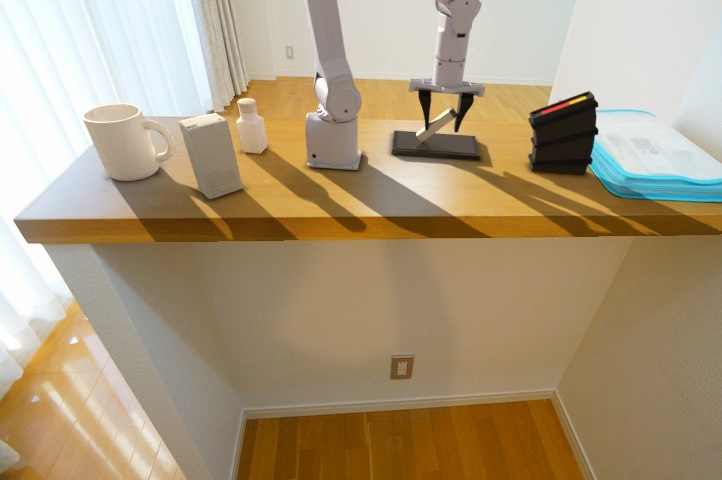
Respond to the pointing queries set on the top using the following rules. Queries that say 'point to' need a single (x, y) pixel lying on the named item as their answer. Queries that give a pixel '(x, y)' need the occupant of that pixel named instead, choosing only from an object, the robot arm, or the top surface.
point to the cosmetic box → (211, 154)
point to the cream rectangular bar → (437, 124)
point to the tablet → (436, 146)
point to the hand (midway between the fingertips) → (441, 129)
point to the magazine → (564, 135)
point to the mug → (126, 141)
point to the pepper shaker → (251, 127)
